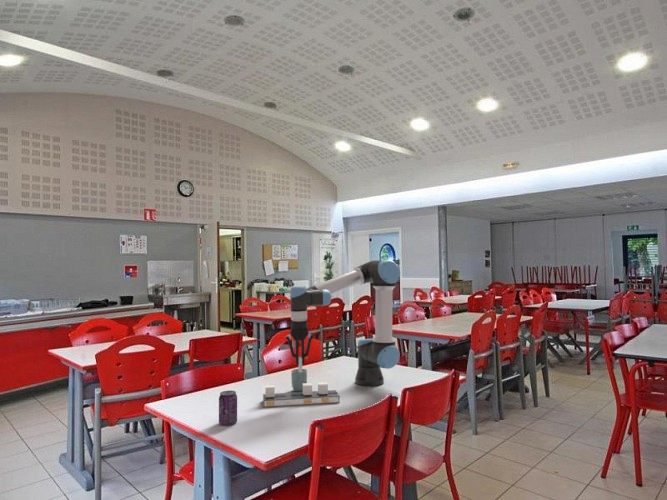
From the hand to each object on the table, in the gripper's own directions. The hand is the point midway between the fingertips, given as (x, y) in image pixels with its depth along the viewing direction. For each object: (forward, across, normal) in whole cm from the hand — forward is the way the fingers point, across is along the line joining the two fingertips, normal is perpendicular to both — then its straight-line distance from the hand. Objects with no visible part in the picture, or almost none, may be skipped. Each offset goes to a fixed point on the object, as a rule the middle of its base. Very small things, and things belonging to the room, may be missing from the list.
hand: (300, 371), depth 205 cm
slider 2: (+10, -3, 0) cm, 11 cm away
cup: (+14, -1, -19) cm, 23 cm away
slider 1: (+10, +14, 0) cm, 17 cm away
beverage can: (+13, +31, +23) cm, 41 cm away
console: (+14, 0, 0) cm, 14 cm away
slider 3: (+10, -10, 0) cm, 14 cm away
